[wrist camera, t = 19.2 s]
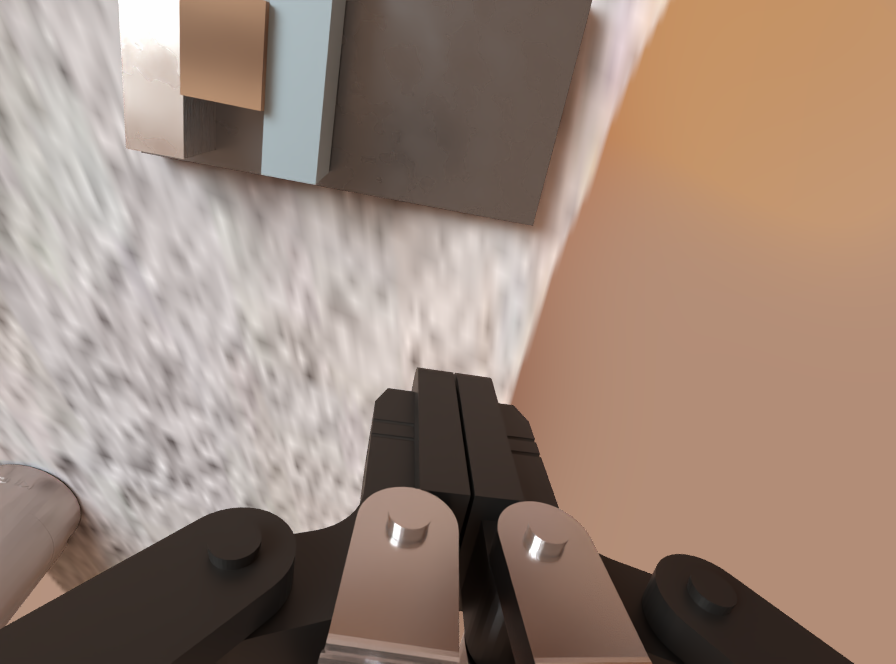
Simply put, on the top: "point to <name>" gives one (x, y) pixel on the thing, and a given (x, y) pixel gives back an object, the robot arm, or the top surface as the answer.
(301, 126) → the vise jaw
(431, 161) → the plate
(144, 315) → the top surface
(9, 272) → the top surface
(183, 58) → the walnut block
